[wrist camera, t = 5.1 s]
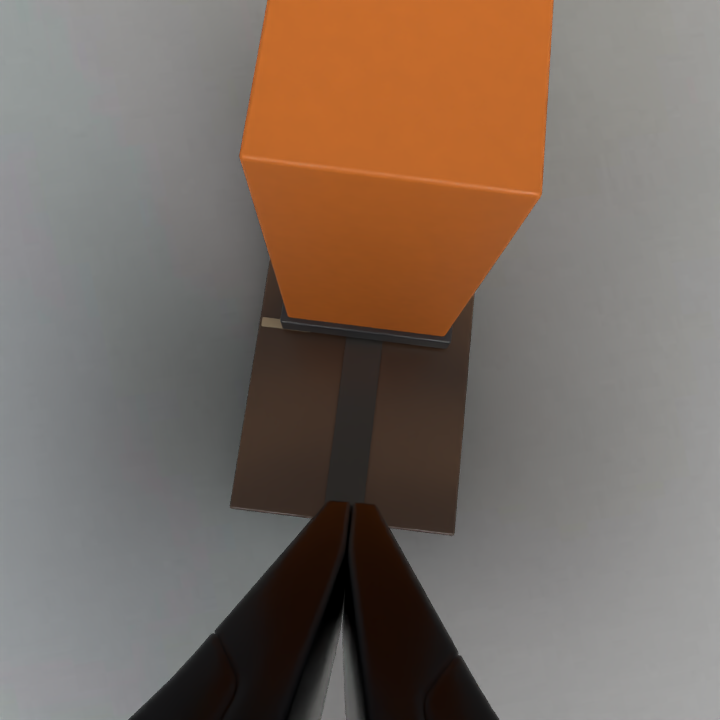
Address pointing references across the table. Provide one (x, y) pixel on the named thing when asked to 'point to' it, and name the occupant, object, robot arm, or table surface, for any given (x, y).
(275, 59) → the orange rectangular block
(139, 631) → the table surface
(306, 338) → the rail
